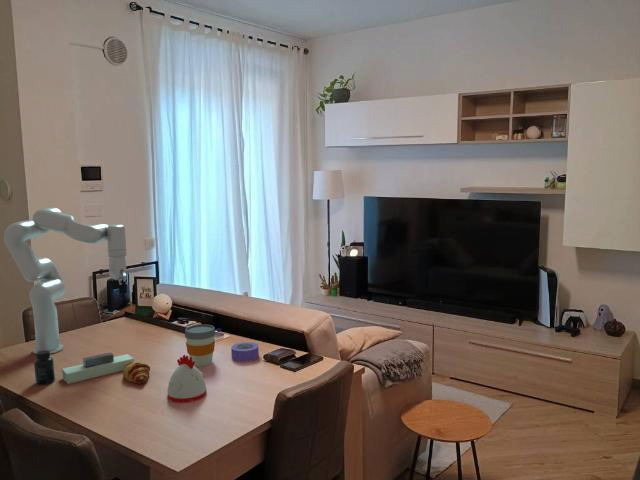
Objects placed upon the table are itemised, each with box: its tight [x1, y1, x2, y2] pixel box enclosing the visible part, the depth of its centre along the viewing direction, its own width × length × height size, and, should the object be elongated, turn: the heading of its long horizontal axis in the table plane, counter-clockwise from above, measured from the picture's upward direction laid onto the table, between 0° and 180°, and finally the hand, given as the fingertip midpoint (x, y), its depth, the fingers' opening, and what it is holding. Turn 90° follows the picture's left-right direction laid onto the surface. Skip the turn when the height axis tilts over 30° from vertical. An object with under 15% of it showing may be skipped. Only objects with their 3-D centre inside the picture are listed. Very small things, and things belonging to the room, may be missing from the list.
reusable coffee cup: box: [184, 324, 216, 368], centre depth 232 cm, size 13×13×15 cm
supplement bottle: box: [33, 350, 56, 386], centre depth 213 cm, size 7×7×12 cm
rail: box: [61, 353, 135, 385], centre depth 222 cm, size 7×26×4 cm, turn 129°
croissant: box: [122, 361, 151, 385], centre depth 217 cm, size 21×10×8 cm, turn 31°
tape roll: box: [230, 341, 260, 363], centre depth 239 cm, size 12×12×5 cm
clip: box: [82, 352, 115, 368], centre depth 222 cm, size 3×11×7 cm, turn 128°
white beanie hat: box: [167, 354, 208, 404], centre depth 200 cm, size 14×14×15 cm
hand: (119, 291), depth 243 cm, fingers open, 9 cm apart
